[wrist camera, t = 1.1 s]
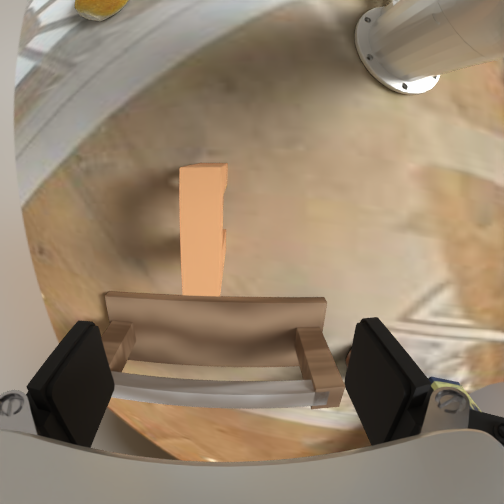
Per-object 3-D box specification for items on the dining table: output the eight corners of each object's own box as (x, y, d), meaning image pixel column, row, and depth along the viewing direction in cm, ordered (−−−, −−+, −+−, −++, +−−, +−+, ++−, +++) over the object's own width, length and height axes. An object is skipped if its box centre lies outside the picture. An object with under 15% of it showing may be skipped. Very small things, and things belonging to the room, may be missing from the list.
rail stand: (109, 291, 36) (64, 346, 24) (324, 297, 38) (357, 358, 26) (120, 352, 40) (90, 414, 27) (313, 358, 41) (336, 426, 29)
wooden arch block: (200, 163, 32) (179, 167, 21) (227, 163, 32) (221, 167, 21) (200, 249, 35) (182, 295, 24) (225, 250, 35) (219, 296, 24)
